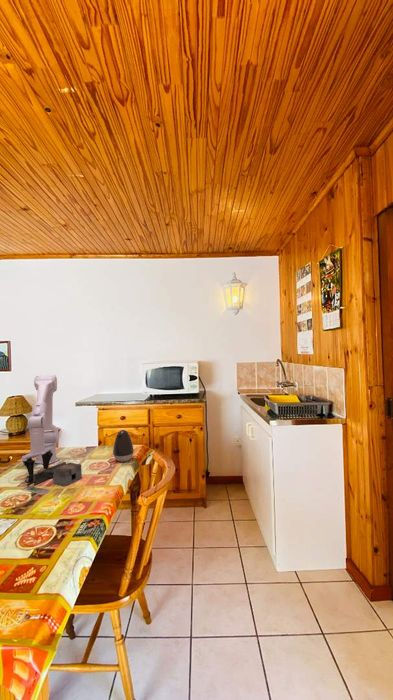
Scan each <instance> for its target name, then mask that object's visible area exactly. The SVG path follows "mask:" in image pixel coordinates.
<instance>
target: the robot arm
mask: <svg viewBox="0 0 393 700" xmlns="http://www.w3.org/2000/svg"><path fill="white" fill-rule="evenodd" d="M33 381H34V382H33V385H34V388H35V390H36V391H37V393H36V394H37V397H36V402H33V404H32V405H33V406H32V410H31V413H30V414H31V415H30V416H29V417H28V420H27V427H28V433H29V434H30V435H29V437H30V452H29V453H27V454H26V455H25V454H24V455H22V456H21V461H22V463H23V464H24V466H25V468H26V470H27V472H28V473H27V474H28V476H29V475H30V474H32V475H33V474H35V472H34V469H35V463H36V464H41V465H42V466H43V467H42V468H43V470H46V469H48V468H49V465H50V464H53V463H56V462H58V461H61V458H57V449H56V447H57V443H58V442H59V438H60V434H59V428H58V427H57V426H56V425H54V424H53V415H54V414H53V405H54V404H53V399H54V398H53V397H54V393H55V392H57V389H58V379H57V376H56V375H42V376H41V375H40V376H35V377H34V379H33ZM34 458H35V459H34Z"/></svg>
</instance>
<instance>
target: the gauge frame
mask: <svg viewBox="0 0 393 700" xmlns="http://www.w3.org/2000/svg"><path fill="white" fill-rule="evenodd" d="M82 472H83V471H82V464H80V463H74V462H66V464H65V465H63V466H60V467H58V468H56V469H53V477H52V479H53V481H52V483H53V485H57V486H61V487H68V486H69V485H71V484H73V483H75V482H77V481H79V480H81V479H82V477H83V475H82ZM71 475H72V476H71ZM20 490H21V491H25V492H29V493H34V494H38V495H42V496H43V495H46V494H48V493H50V492H51V490H49V489H46V488H41V487H36V486H31V485H29V486H27V485H26V486H24V487H21V488H20Z"/></svg>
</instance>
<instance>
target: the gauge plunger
mask: <svg viewBox="0 0 393 700" xmlns="http://www.w3.org/2000/svg"><path fill="white" fill-rule="evenodd" d="M65 464H67V462H66V461H62V462H60V463H57V464H55V465H53V466H50V467H48V469H43V470H41V471H38V472H37V473H34V475H33V481H31V483H26V486H31V485H38V484H40V483H42V482H45V481H46V480H49V479H51V478H53V469H56V468H58V467H60V466H63V465H65ZM71 476H72V475H71Z"/></svg>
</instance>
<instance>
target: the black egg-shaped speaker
mask: <svg viewBox="0 0 393 700" xmlns="http://www.w3.org/2000/svg"><path fill="white" fill-rule="evenodd" d="M134 452H135V451H134V444H133V441H132V438H131V436H130V434H129V432H128V431H127V430H125V429H122V430H121V429H120V430H119V431H118V432H117V434H116V436H115V439H114V443H113V448H112V454H113V456H114V459H115V460H116V461H118V462H121V463H123V462H128V461H130V460H131V459H132V458H133V455H134Z"/></svg>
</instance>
